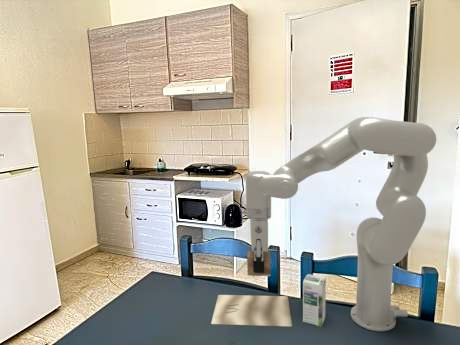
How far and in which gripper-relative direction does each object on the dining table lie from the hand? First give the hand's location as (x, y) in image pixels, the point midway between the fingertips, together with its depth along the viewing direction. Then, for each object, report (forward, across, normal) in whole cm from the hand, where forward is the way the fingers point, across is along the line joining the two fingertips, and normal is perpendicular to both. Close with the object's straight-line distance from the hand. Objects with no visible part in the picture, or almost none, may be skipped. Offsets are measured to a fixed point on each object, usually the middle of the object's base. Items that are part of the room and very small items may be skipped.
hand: (258, 267), depth 100 cm
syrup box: (+16, -4, -17) cm, 23 cm away
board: (+16, 0, +2) cm, 16 cm away
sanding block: (+2, 0, 0) cm, 2 cm away
